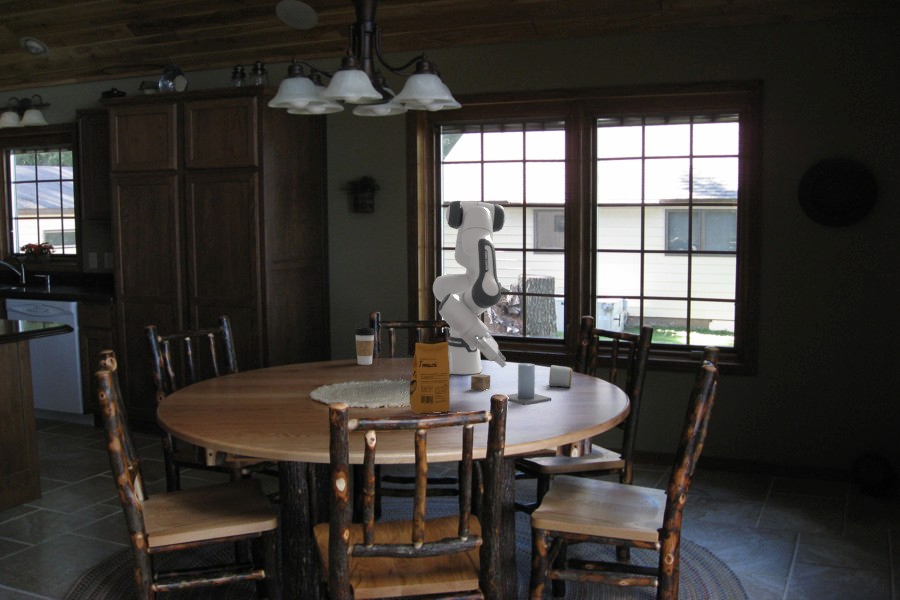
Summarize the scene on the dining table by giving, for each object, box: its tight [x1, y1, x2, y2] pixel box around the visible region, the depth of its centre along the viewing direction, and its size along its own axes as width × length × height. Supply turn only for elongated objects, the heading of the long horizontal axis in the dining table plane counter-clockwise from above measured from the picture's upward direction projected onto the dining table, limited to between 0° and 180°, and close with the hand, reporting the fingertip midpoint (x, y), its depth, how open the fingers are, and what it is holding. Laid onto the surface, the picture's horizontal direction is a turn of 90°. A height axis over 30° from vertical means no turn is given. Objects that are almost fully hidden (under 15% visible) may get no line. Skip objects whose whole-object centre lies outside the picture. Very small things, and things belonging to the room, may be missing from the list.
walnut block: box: [470, 373, 491, 392], centre depth 303 cm, size 5×5×5 cm
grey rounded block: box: [548, 364, 574, 388], centre depth 311 cm, size 11×8×8 cm
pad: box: [506, 392, 552, 405], centre depth 287 cm, size 12×12×1 cm
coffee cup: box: [354, 327, 376, 366], centre depth 352 cm, size 8×8×15 cm
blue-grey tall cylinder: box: [517, 362, 536, 399], centre depth 287 cm, size 6×6×11 cm
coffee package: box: [408, 341, 451, 415], centre depth 268 cm, size 10×12×22 cm
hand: (504, 363), depth 287 cm, fingers open, 8 cm apart
